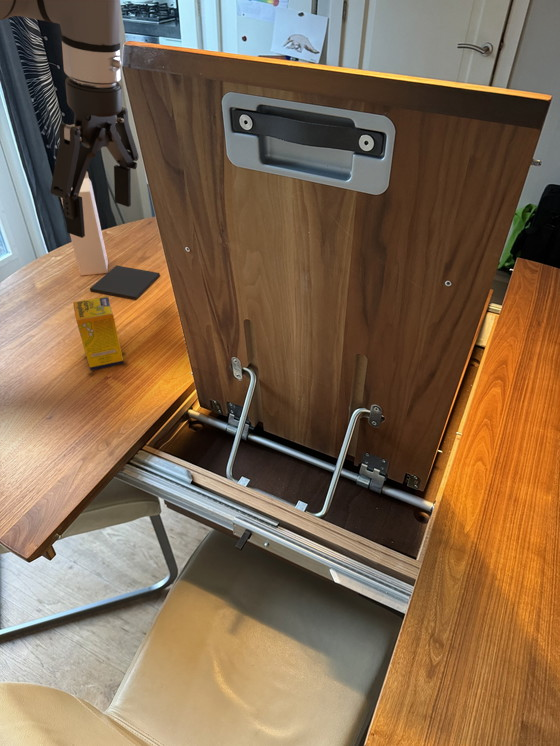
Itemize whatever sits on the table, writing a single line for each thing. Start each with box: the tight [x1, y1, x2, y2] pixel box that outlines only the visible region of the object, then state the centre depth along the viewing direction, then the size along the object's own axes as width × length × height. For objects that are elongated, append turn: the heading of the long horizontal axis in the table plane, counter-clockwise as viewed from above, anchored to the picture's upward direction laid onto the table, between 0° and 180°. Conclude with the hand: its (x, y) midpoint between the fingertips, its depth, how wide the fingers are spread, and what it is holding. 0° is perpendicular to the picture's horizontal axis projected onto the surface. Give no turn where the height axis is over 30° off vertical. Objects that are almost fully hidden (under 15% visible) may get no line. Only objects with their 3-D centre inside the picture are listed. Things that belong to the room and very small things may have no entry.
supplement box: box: [72, 295, 125, 372], centre depth 90 cm, size 6×6×11 cm
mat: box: [89, 264, 161, 301], centre depth 114 cm, size 11×11×1 cm
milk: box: [60, 171, 109, 276], centre depth 112 cm, size 6×6×22 cm
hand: (100, 218), depth 87 cm, fingers open, 13 cm apart
